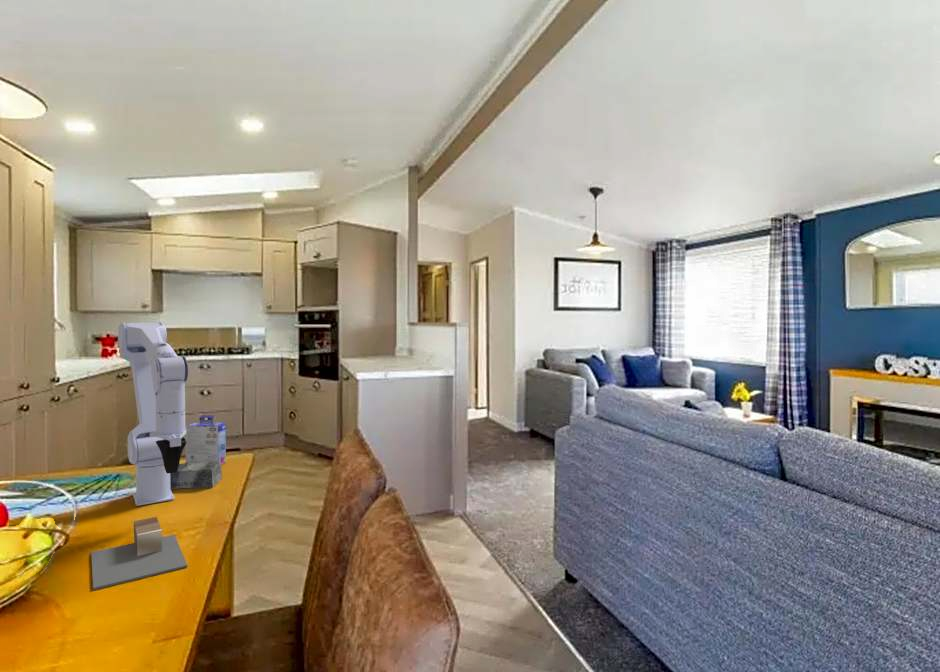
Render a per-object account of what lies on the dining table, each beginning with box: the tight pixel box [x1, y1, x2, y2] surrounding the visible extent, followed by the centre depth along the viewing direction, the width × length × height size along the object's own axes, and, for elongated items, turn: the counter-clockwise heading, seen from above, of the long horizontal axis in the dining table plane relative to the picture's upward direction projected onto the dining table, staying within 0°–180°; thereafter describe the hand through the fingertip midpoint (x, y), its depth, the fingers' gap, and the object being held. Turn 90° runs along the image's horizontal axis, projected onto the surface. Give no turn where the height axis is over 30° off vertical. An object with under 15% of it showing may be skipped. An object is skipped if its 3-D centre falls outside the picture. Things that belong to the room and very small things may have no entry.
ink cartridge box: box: [185, 414, 227, 465], centre depth 160 cm, size 10×6×14 cm, turn 91°
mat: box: [90, 534, 188, 591], centre depth 100 cm, size 16×14×1 cm
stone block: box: [170, 461, 223, 490], centre depth 143 cm, size 9×14×5 cm, turn 97°
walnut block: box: [133, 516, 163, 556], centre depth 105 cm, size 4×4×8 cm
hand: (171, 472), depth 119 cm, fingers closed
